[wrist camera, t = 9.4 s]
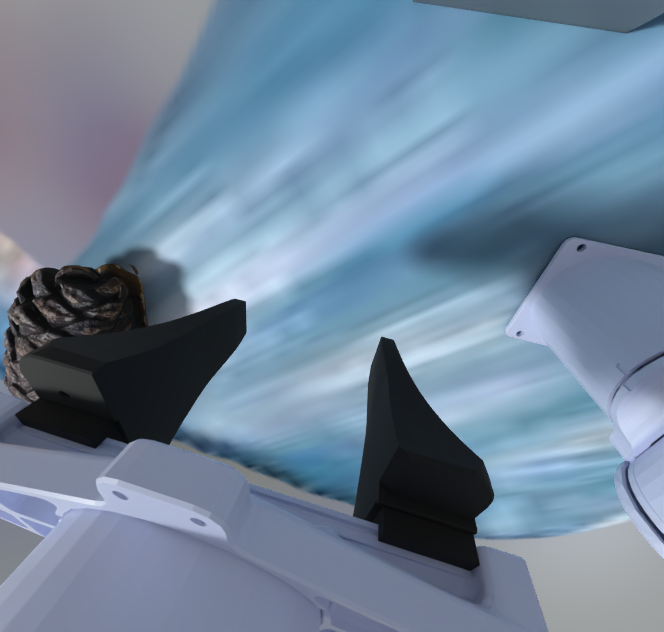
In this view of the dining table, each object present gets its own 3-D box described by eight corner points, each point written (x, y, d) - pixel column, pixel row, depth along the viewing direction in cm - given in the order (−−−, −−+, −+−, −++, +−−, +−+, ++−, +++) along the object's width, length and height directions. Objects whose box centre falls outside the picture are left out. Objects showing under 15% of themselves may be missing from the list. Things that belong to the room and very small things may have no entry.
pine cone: (155, 266, 25) (34, 320, 17) (157, 378, 35) (82, 448, 26) (54, 220, 25) (-121, 252, 16) (85, 347, 34) (-15, 407, 26)
